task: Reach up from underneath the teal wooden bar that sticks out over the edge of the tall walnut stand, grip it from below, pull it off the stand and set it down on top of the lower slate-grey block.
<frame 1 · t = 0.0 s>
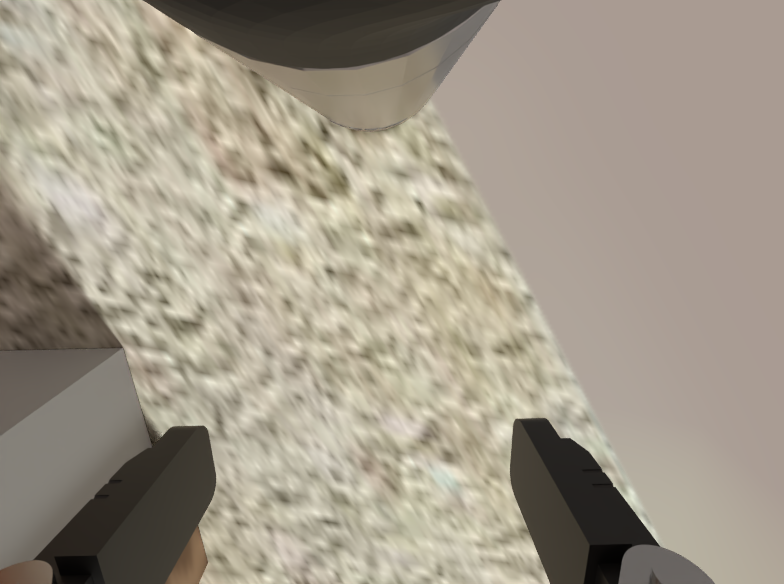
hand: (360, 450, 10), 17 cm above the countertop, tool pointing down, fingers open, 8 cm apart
walnut stand: (139, 517, 34), on the countertop
grey block: (76, 405, 30), on the countertop
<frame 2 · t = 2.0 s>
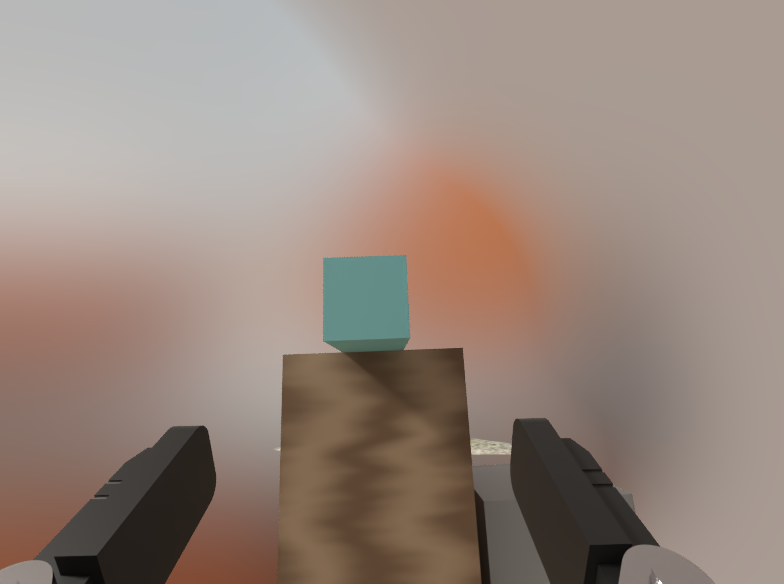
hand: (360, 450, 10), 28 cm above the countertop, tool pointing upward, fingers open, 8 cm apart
teal bar: (375, 354, 29), point 32 cm above the countertop, touching walnut stand
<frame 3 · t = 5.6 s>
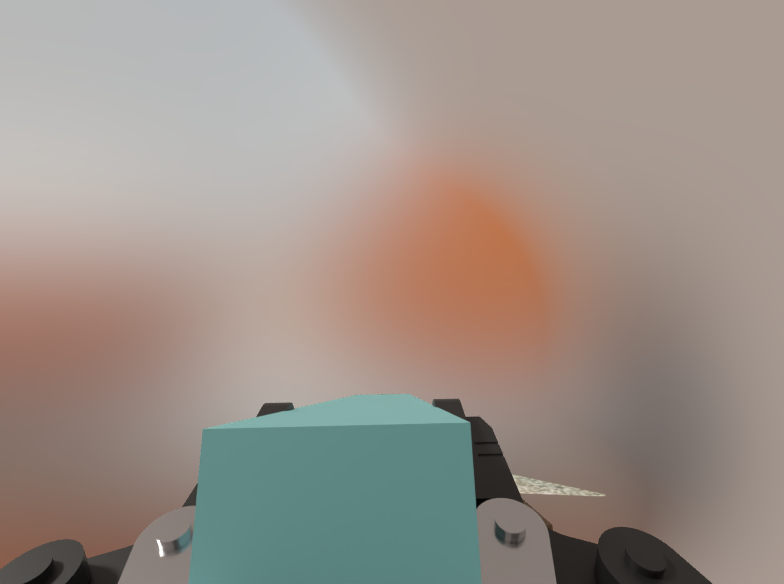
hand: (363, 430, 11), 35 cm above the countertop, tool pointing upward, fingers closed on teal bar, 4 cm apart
teal bar: (376, 495, 16), point 32 cm above the countertop, touching gripper, walnut stand
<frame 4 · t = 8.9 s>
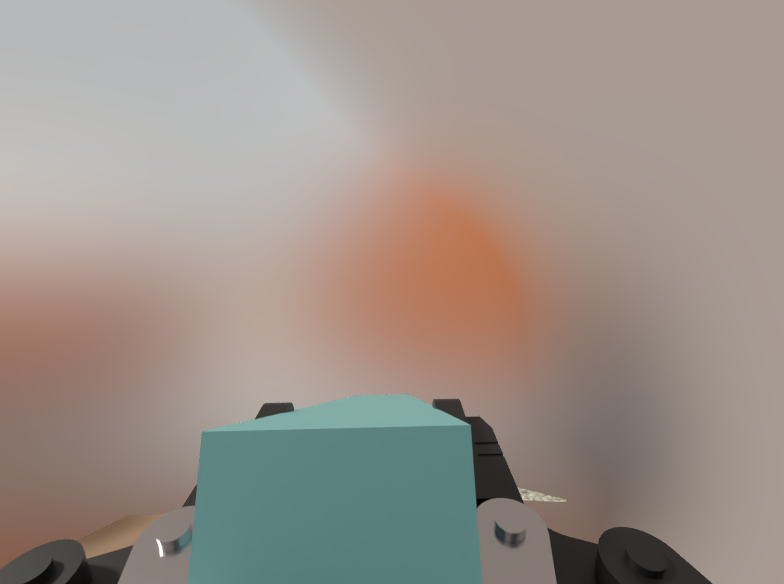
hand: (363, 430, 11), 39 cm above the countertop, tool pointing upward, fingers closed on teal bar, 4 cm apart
teal bar: (376, 496, 16), point 36 cm above the countertop, touching gripper
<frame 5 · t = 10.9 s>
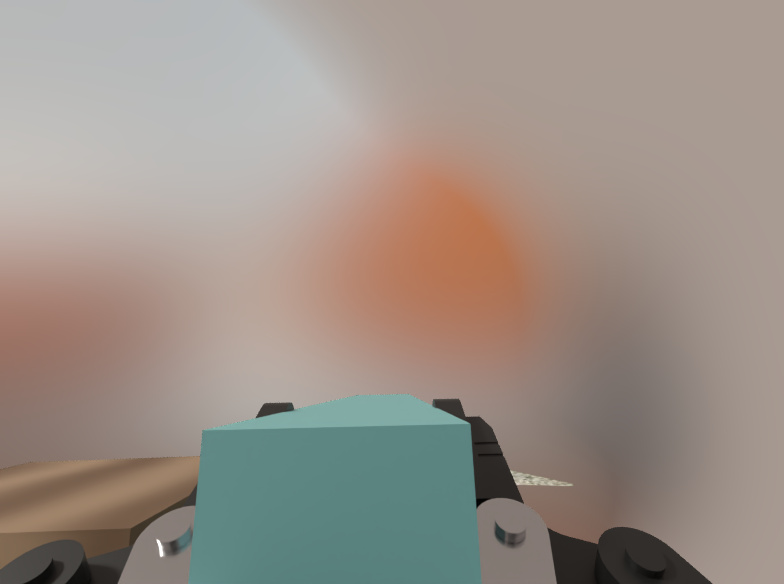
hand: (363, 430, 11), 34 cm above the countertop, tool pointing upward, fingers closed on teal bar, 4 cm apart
teal bar: (376, 496, 16), point 31 cm above the countertop, touching gripper
when the fingers open (26 cm above the countertop, at t = 12.6 s): teal bar stays where it is, resting on grey block.
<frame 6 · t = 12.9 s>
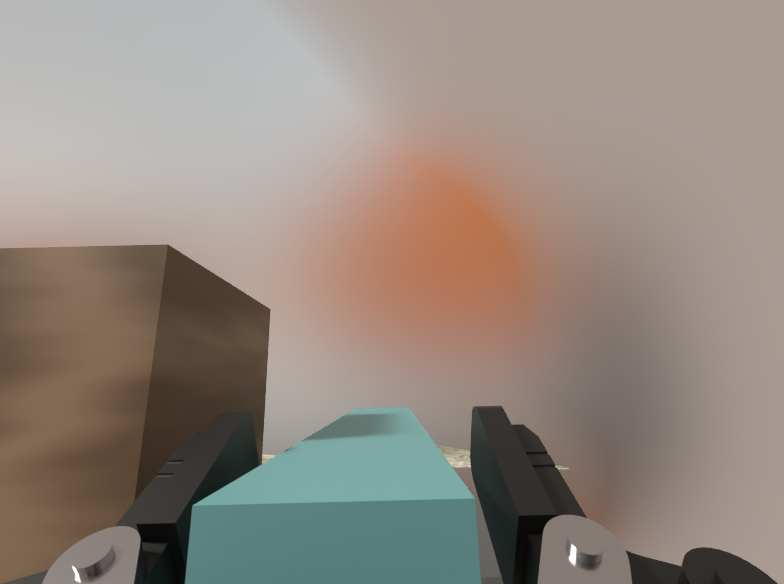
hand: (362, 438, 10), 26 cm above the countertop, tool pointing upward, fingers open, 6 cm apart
teal bar: (375, 521, 16), point 22 cm above the countertop, touching grey block
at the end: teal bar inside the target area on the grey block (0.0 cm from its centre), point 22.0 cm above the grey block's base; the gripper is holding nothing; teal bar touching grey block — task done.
